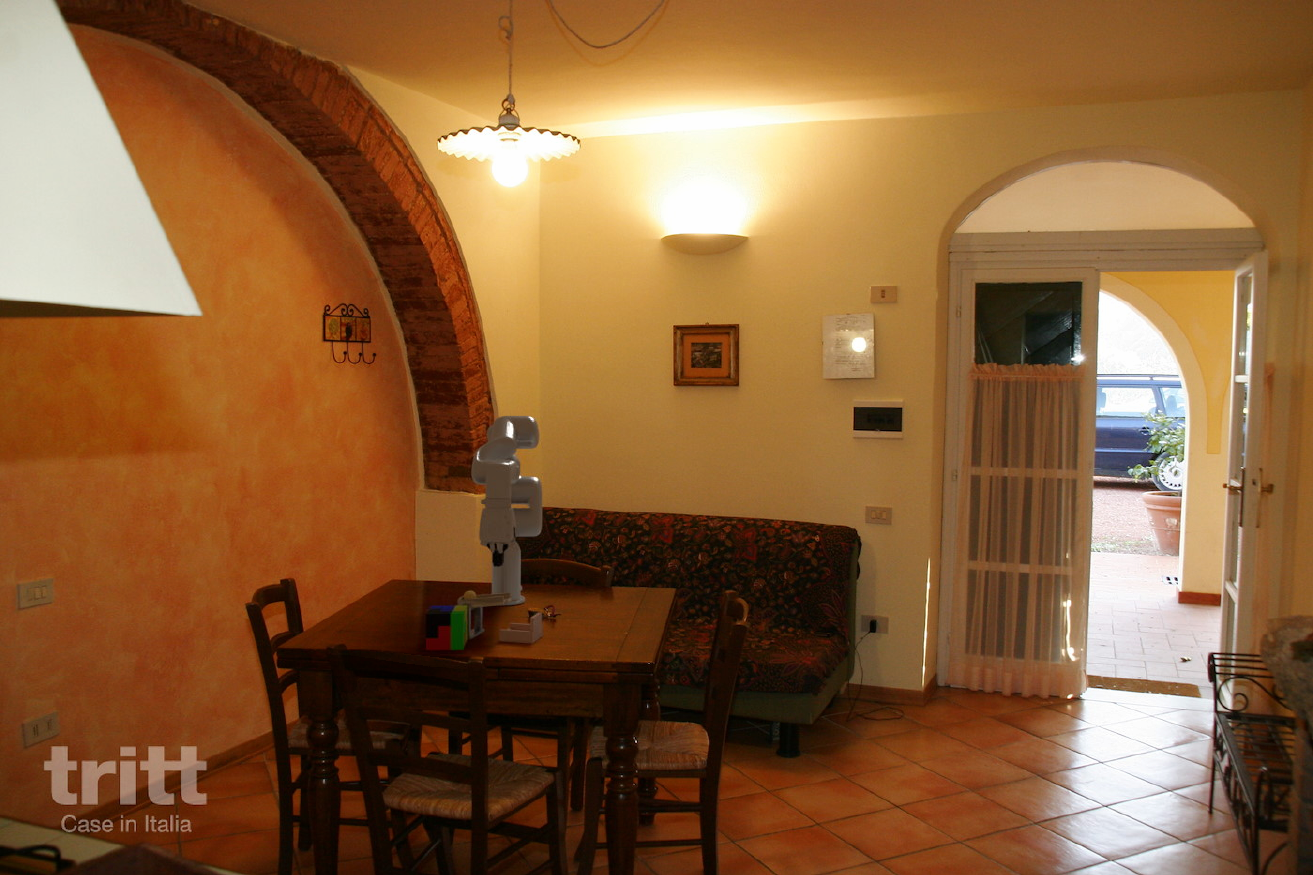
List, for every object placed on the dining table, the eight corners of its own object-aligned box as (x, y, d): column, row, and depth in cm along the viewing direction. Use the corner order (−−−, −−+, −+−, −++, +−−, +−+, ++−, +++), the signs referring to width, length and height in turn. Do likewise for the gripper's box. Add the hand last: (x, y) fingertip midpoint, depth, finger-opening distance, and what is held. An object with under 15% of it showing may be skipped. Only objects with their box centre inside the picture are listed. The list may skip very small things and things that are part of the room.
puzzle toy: (431, 640, 267) (431, 605, 266) (467, 640, 267) (467, 605, 267) (426, 650, 257) (425, 614, 256) (463, 649, 257) (463, 613, 257)
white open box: (511, 633, 275) (511, 609, 275) (542, 635, 273) (542, 612, 272) (499, 641, 267) (499, 616, 266) (532, 643, 264) (532, 618, 264)
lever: (460, 614, 283) (457, 592, 283) (520, 609, 279) (517, 586, 279) (442, 623, 271) (439, 600, 271) (505, 618, 267) (502, 595, 267)
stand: (474, 630, 278) (474, 596, 278) (484, 631, 277) (484, 597, 277) (460, 638, 268) (460, 604, 268) (470, 639, 268) (470, 604, 267)
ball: (470, 603, 275) (464, 592, 275) (480, 598, 274) (474, 587, 274) (465, 606, 271) (459, 595, 271) (475, 600, 270) (469, 589, 271)
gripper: (469, 504, 275) (469, 566, 275) (517, 506, 271) (517, 569, 272) (479, 501, 282) (479, 562, 282) (526, 503, 279) (526, 565, 279)
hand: (498, 565), depth 277 cm, fingers closed
